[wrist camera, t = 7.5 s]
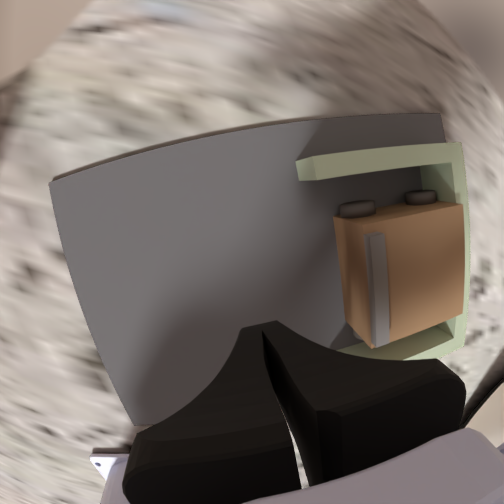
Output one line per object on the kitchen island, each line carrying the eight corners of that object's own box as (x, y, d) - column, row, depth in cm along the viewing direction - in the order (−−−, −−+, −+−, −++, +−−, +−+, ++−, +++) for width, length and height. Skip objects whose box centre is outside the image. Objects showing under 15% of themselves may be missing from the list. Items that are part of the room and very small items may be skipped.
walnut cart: (428, 301, 18) (468, 327, 14) (345, 328, 17) (376, 364, 13) (422, 188, 16) (469, 192, 12) (330, 204, 16) (366, 212, 12)
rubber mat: (448, 343, 19) (451, 344, 19) (134, 422, 18) (134, 425, 18) (437, 114, 16) (439, 113, 15) (51, 182, 14) (48, 182, 14)
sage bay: (438, 327, 18) (463, 346, 15) (325, 367, 18) (341, 395, 15) (428, 145, 16) (461, 142, 13) (295, 161, 15) (312, 156, 12)
